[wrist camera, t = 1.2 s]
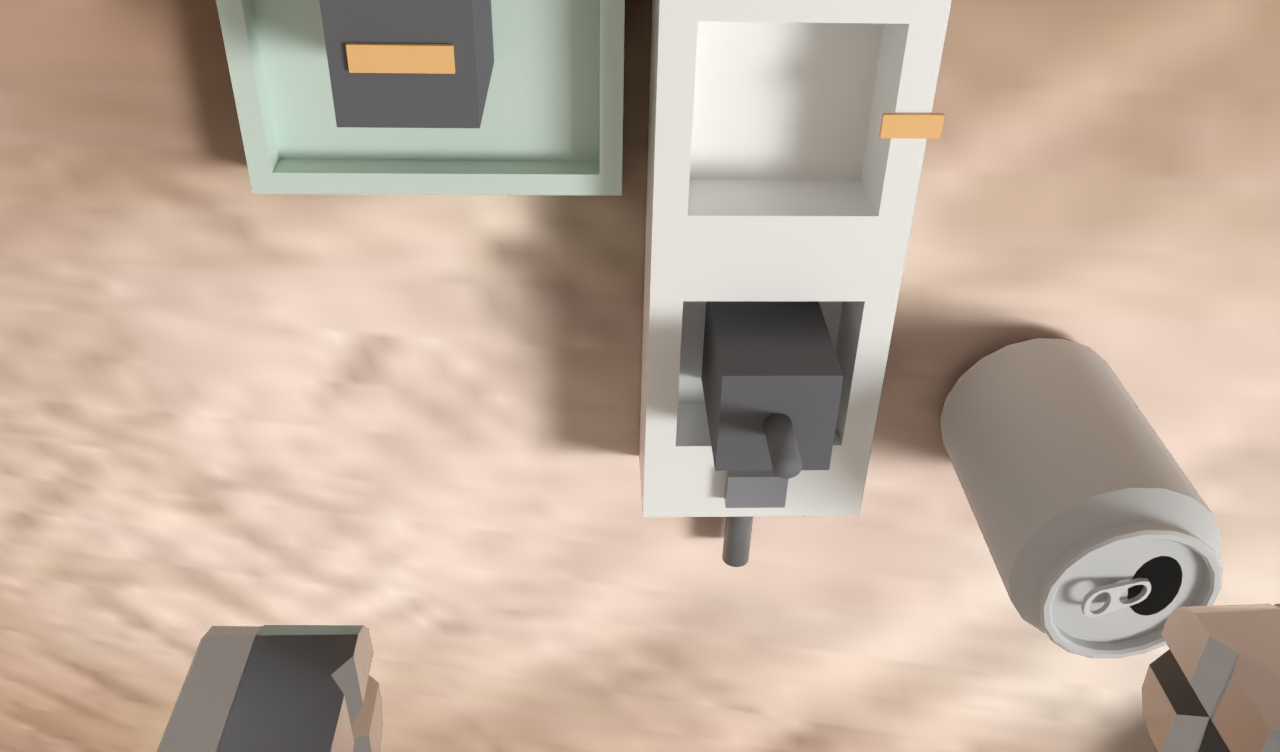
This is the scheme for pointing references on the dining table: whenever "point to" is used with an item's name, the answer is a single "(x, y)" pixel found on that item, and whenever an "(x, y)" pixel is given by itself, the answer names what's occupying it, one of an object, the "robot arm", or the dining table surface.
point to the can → (1078, 499)
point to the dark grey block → (408, 61)
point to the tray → (436, 157)
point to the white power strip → (777, 221)
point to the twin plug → (770, 386)
